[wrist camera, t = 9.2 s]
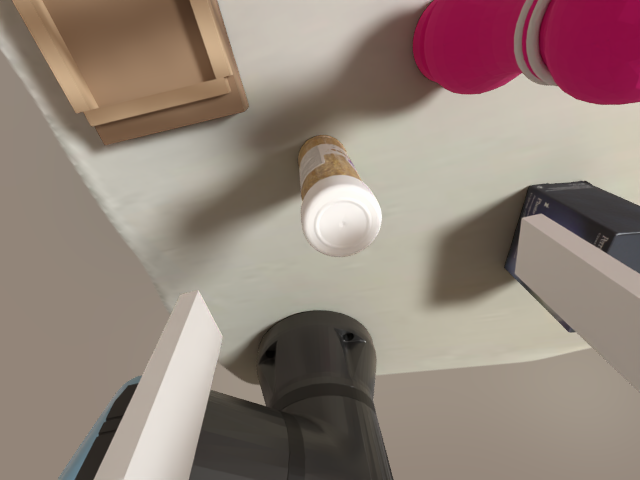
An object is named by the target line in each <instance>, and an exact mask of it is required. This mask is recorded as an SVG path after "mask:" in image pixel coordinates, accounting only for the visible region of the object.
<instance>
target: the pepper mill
mask: <svg viewBox="0 0 640 480" xmlns="http://www.w3.org/2000/svg"><path fill="white" fill-rule="evenodd" d="M413 54H414V59H415V62H416V65H417V66H418V68H419V70H420V71H421V73H422V74H423V75H424V76H425V77H426V78H428V79H429V80H431V81H434V82H437V83H438V84H439V85H441V86H442V87H444V88H445V89H447V90H449V91H451V92H453V93H458V94H481V93H484V92H487V91H491V90H493V89H496V88H498V87H501V86H503V85H505V84H506V83H508V82H509V81H511V80H512V79H514V78H515V77H517V76H518V75H520V74H521V73H523V74H524V75H525V76H526V77H527V78H528V79H530V80H531V81H533V82H535V83H537V84H541V85H551V86H552V85H554V86H559V87H560V88H561V89H562V91H564V92H565V93H567V94H569V95H570V96H572V97H574V98H576V99H578V100H582V101H585V102H589V103H594V104H600V105H620V104H628V103H635V102H640V0H434V1H433V2H432V3H431V4H430V5H429V6H428V7H427V8H426V10H425V11H424V12H423V14H422V15H421V17H420V19H419V21H418V24H417V26H416V29H415V32H414V38H413Z"/></svg>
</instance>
